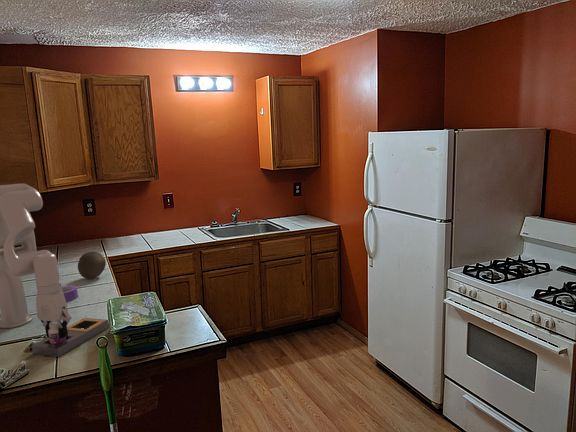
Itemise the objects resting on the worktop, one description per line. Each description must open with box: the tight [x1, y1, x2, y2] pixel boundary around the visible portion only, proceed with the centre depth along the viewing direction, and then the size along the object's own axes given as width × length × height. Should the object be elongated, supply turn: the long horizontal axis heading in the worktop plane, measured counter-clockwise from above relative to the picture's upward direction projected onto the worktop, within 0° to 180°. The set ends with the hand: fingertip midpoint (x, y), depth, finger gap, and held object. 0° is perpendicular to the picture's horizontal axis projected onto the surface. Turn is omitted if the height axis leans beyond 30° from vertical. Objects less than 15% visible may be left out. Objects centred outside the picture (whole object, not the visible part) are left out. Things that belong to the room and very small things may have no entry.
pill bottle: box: [48, 321, 66, 345], centre depth 160 cm, size 5×5×10 cm
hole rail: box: [31, 317, 110, 358], centre depth 167 cm, size 12×25×3 cm, turn 161°
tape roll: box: [61, 285, 79, 303], centre depth 215 cm, size 12×12×5 cm
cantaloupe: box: [77, 251, 107, 280], centre depth 247 cm, size 14×14×15 cm
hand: (57, 335), depth 160 cm, fingers closed on pill bottle, 5 cm apart
